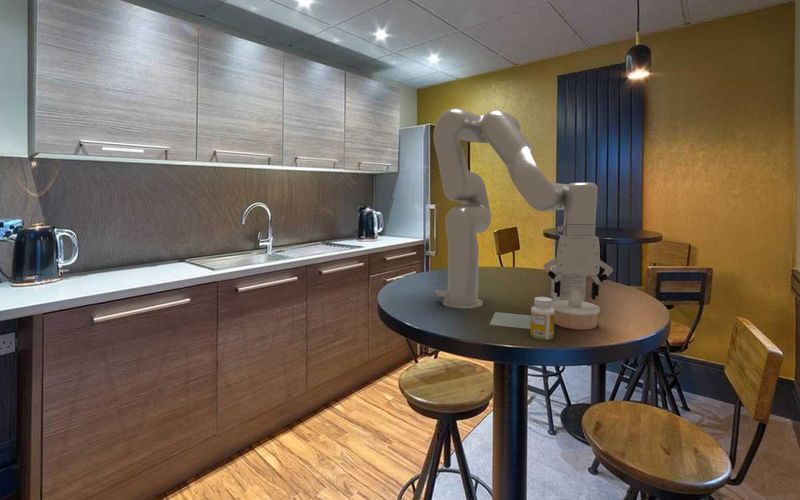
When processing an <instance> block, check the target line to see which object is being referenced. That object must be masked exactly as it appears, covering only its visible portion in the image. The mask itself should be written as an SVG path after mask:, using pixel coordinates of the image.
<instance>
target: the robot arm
mask: <svg viewBox="0 0 800 500" xmlns="http://www.w3.org/2000/svg"><path fill="white" fill-rule="evenodd" d="M432 138H433V144H434V149H435V153H436V157H437V162H438V167H439V174H440V179H441V184H442V189H443V193H444V195H445V197H446V198H447V199H448V200H449V201H453V202H461V203H460V205H456V206H454V207H452V208H451V209H449V210H448V213H447V214H446V216H445V219H444V220H445V233H446V237H447V289H444V290H441V289H435V290H434V296H435V297H436V298H443V300H442V305H443V306H444V307H449V308H452V309H461V310H464V309H465V310H467V309H469V310H471V309H476V308H480V307H482V306H483V304H484V303H483V300H481V299H480V298H479V258H480V257H479V252H480V250H479V241H478V238H477V237H478V236H477V235H478V234H481V233H483V232H485V231H487V230H488V229H489V227H490V225H491V223H492V213H491V208H490V203H489V197H488V192H487V188H486V184H485V182H484V180H483V178H482V177H481V176H480V175H479V174H478V173H476V172H474V171H470V170H469V167H468V164H467V158H466V154H465V151H464V148H463V147H462V145H461V141H465V142H470V143H477V144H479V143H480V144H489V145H490V146H491V148H492V149H493V150H494V151H495V153H496V154H497V155H498V157H499V158H500V159H501V161H502V162H503V164H504V165H505V166H506V169H507V172H508V174H509V176H510V178H511V179H510V180H511V181H512V183H513V185H514V186H515V188H516V190H517V191H518V192H519V194H520V195H521V196H522V197H523V198H524V200H525V201H526V203H527V204H528V205H529V206H530V207H531V208H532V209H534V210H536V211H538V212H553V211H554V212H555V211H561V210H562V211H564V212H563V224H561V225H558V226H557V232H561V233H563V234H562V235H560V236H559V239H558V243H557V251H556V257H555V258H552V259H551V260H549V261H547V262H546V263H544V264H543V265H542V267H543V269H544V270H545V271H546V273H547V275H548V276H549V278H551V280H552V279H553V280H554V281H555V285H554V293H557V297H560V285H561V282H560V278H561V277H562V276H563V274H564V275H580V276H586V277H591V278H592V280H593V281H592V283H591V292H590V295H591V296H590V297H591V299H592V300H594V301H595V300H596V297H598V296H599V292H600V291H599V290H600V285H601V283H603V281H605V280H607V279H608V277H609V276H610V275H611V274H612V273H613V272H614V269H613V267H612V266H609V264H607V263H606V262H604V261H603V260H601V257H600V256H601V249H600V248H601V246H600V239H599V237H598V236H596V226H597V225H596V222H597V209H598V207H597V204H598V189H599V188H598V185H597V184H596V183H594V182H585V181H584V182H571V183H567V184H566V183H557V182H551V181H550V180H549V179H548V178H547V176H546V175H545V174H544V173H543V172H542V170H541V169H540V168H539V166H538V164H537V163H536V161H535V157H534V147H533V145H532V144H531V142H530V141H529V140H528V139H527V138H526V137H525V135H524V134H523V133H522V131H521V124H520V122H519V120H518V118H517V117H516V116H514V115H512V114H510V113H508V112H505V111H503V110H499V109H498V110H497V109H495V110H491V111H489V112H487V113H485V114H476V113H474V112H471V111H468V110H466V109H463V108H450V109H447V110H446V111H444V112H443V113H442V114H441V115H440V116H439V118H438V119H437V121H436V123H435V125H434V129H433V137H432ZM554 264H556V269H557V273H556V275H555V274H554V273H553V272H552V266H553V265H554ZM600 268H602V269H604V271H603V273H601V274H600V275H599V273H600Z"/></svg>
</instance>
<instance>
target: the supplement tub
mask: <svg viewBox="0 0 800 500" xmlns="http://www.w3.org/2000/svg"><path fill="white" fill-rule="evenodd" d="M551 270H552V272H553V273H554V274H555V275H556V273H557V269H556V264H554V265H553V266H551ZM586 281H587V276H580V275H564V274H563V276H562V277H561V278H560V282H561V285H560V297H557V293H554V285H555V281H554V280H553V279H552V278H551V284H550V285H551V290H550V291H551V293H550V295H551V296H550V298H551V299H552V302H554V301H559V300H569V288H581V289H582V302H586V287H587V286H586V285H587V282H586Z"/></svg>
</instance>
